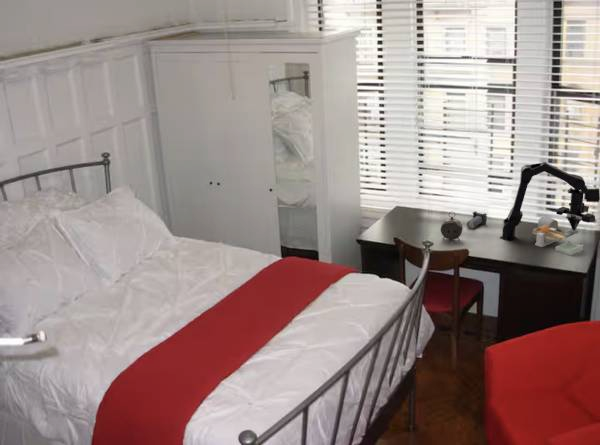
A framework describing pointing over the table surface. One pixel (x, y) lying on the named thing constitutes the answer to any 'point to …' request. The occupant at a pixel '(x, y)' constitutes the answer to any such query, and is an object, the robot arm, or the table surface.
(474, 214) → the camera
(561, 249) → the tray
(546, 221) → the ceramic mug
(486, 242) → the table surface
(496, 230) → the table surface
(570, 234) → the lever
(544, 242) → the stand
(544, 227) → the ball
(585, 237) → the table surface
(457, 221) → the alarm clock
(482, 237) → the table surface
